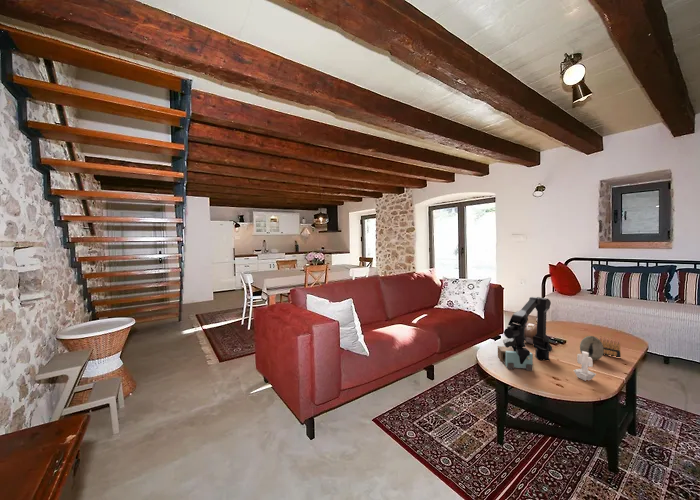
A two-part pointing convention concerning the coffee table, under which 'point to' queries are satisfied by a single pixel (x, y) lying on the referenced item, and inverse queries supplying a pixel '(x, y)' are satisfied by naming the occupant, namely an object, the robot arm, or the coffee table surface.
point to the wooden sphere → (530, 332)
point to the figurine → (584, 366)
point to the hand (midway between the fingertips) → (518, 360)
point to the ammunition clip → (611, 347)
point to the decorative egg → (592, 347)
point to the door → (514, 358)
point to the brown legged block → (502, 358)
